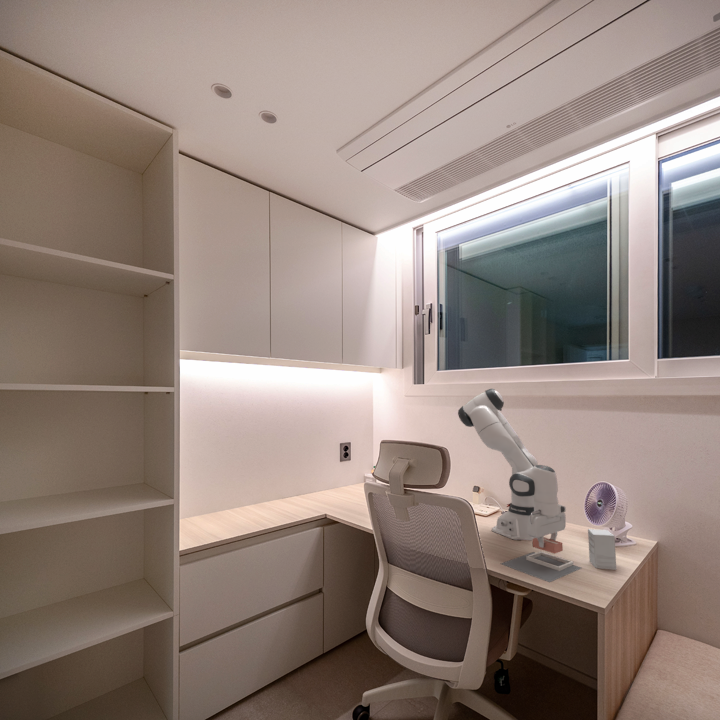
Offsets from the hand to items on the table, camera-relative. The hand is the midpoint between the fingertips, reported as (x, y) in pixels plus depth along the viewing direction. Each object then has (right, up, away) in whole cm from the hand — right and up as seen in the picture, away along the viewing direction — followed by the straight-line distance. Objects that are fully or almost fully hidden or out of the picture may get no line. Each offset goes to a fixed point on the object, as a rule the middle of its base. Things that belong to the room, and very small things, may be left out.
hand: (547, 545), depth 163 cm
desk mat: (-4, -6, -4) cm, 9 cm away
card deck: (0, -1, 0) cm, 1 cm away
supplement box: (+19, -7, -3) cm, 21 cm away
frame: (+1, -6, -1) cm, 6 cm away
